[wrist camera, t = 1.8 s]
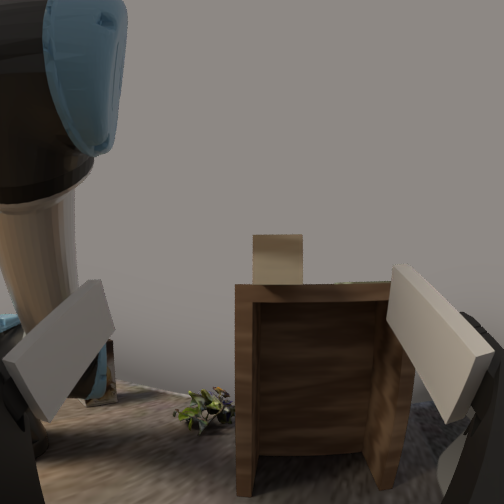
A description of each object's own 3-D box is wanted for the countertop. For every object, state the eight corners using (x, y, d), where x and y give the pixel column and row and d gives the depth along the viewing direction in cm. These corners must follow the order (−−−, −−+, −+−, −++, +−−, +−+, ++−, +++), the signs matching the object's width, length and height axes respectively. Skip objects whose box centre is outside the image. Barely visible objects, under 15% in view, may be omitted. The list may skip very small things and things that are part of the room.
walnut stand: (392, 488, 29) (419, 280, 32) (236, 496, 31) (235, 282, 35) (370, 446, 43) (384, 281, 46) (248, 450, 45) (249, 283, 48)
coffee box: (86, 408, 55) (78, 342, 57) (77, 398, 59) (70, 336, 61) (118, 402, 62) (113, 340, 64) (108, 394, 66) (103, 335, 68)
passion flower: (221, 444, 56) (255, 409, 56) (195, 457, 47) (231, 419, 47) (187, 409, 61) (217, 373, 62) (157, 416, 52) (189, 377, 52)
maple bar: (302, 284, 24) (302, 234, 24) (252, 284, 24) (252, 234, 25) (293, 284, 48) (293, 259, 48) (268, 284, 48) (268, 259, 49)
